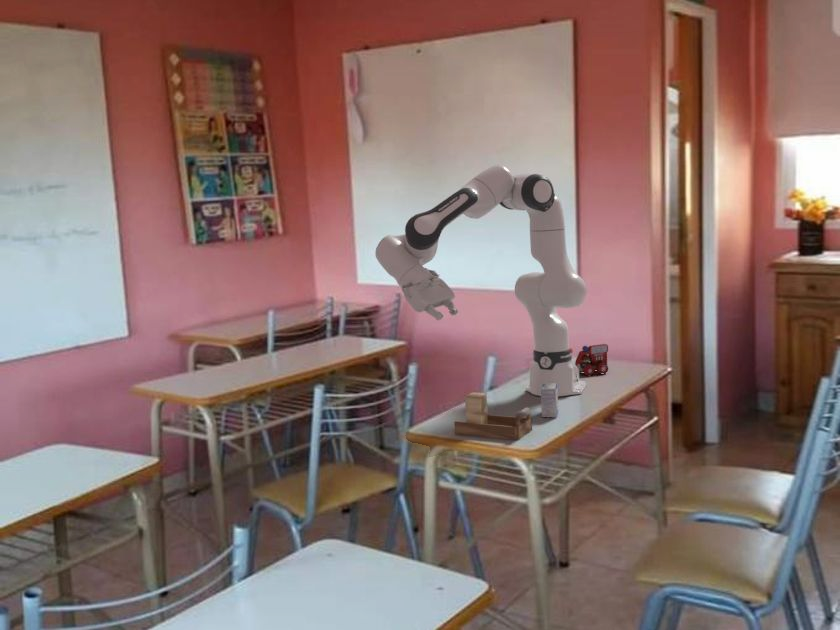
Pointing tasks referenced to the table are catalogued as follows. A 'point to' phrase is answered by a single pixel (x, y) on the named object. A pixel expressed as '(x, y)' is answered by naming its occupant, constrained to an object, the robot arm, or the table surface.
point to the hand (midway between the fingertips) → (448, 316)
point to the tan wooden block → (476, 408)
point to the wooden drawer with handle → (498, 426)
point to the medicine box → (549, 400)
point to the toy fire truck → (592, 359)
